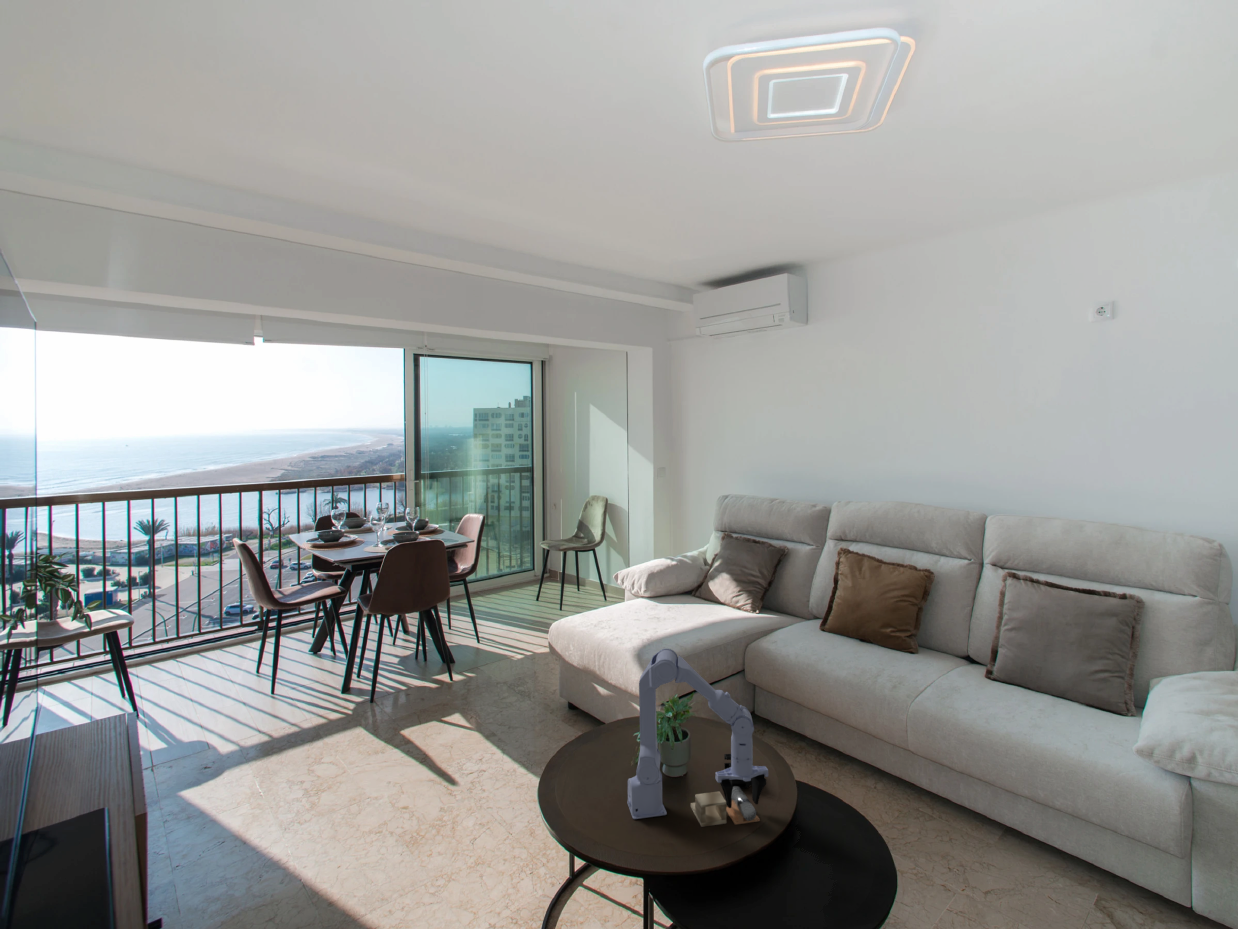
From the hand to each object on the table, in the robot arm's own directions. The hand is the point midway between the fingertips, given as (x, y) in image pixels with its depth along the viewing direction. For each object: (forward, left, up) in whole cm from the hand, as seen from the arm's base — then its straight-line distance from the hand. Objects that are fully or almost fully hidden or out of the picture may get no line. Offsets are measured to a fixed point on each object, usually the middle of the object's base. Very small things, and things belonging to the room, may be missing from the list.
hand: (742, 804), depth 162 cm
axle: (0, 0, 0) cm, 1 cm away
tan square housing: (-9, +2, -3) cm, 10 cm away
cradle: (0, 0, -3) cm, 3 cm away
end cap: (+6, +16, -3) cm, 17 cm away
